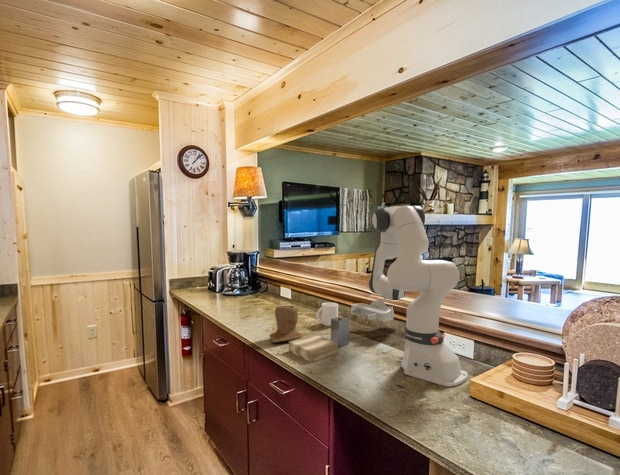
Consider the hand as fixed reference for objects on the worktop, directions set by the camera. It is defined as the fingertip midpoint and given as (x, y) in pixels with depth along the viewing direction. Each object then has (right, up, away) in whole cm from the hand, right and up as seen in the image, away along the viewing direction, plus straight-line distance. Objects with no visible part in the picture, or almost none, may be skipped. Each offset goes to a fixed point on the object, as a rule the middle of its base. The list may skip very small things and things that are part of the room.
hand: (359, 314), depth 158 cm
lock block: (-9, -11, -8) cm, 16 cm away
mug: (-14, -10, +20) cm, 26 cm away
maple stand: (-21, -11, -17) cm, 29 cm away
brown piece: (-34, -11, -2) cm, 35 cm away
